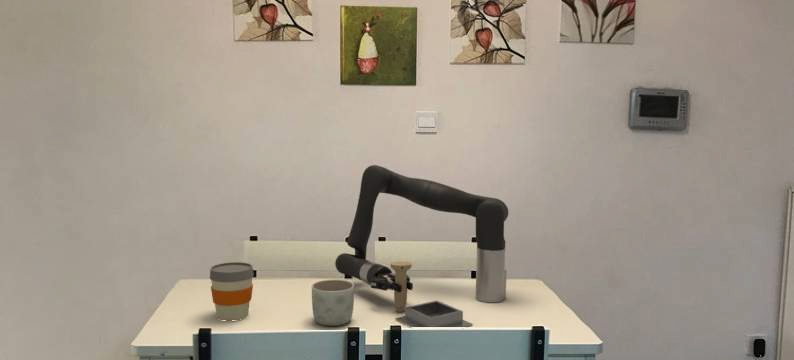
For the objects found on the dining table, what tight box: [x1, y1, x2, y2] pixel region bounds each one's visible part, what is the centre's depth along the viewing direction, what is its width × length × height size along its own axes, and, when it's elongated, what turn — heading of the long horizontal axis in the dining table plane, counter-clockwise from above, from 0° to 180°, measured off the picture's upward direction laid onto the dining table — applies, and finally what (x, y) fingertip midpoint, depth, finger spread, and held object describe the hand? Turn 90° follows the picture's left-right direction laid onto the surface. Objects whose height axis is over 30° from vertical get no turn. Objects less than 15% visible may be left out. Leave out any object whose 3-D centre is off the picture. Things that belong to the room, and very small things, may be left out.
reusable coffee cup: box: [209, 261, 254, 322], centre depth 174 cm, size 13×13×15 cm
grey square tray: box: [395, 300, 473, 328], centre depth 171 cm, size 16×16×4 cm
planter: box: [311, 279, 355, 327], centre depth 171 cm, size 12×12×11 cm
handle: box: [390, 261, 413, 313], centre depth 181 cm, size 5×6×15 cm
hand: (406, 287), depth 179 cm, fingers closed on handle, 3 cm apart
